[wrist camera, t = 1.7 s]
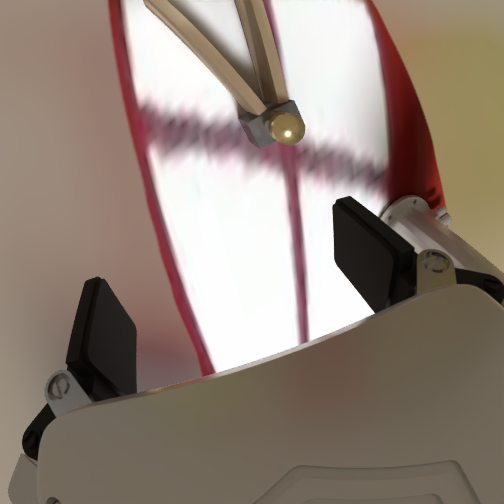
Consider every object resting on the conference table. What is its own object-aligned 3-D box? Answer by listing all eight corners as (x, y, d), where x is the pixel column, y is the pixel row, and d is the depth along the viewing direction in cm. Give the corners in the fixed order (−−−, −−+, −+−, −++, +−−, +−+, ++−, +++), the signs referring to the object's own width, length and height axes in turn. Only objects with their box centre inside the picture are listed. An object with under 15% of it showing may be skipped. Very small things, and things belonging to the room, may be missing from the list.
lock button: (289, 107, 23) (297, 109, 22) (300, 133, 25) (309, 136, 23) (262, 119, 24) (269, 122, 22) (275, 145, 25) (282, 150, 24)
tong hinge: (280, 98, 28) (295, 100, 24) (290, 121, 29) (307, 127, 26) (238, 118, 28) (247, 123, 24) (250, 141, 30) (261, 150, 26)
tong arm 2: (153, 0, 18) (149, -16, 14) (253, 105, 27) (267, 108, 23) (145, 6, 18) (140, -9, 14) (245, 111, 27) (258, 115, 23)
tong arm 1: (234, -31, 17) (245, -49, 13) (271, 98, 27) (288, 101, 23) (225, -30, 17) (234, -48, 13) (262, 100, 27) (278, 103, 23)
